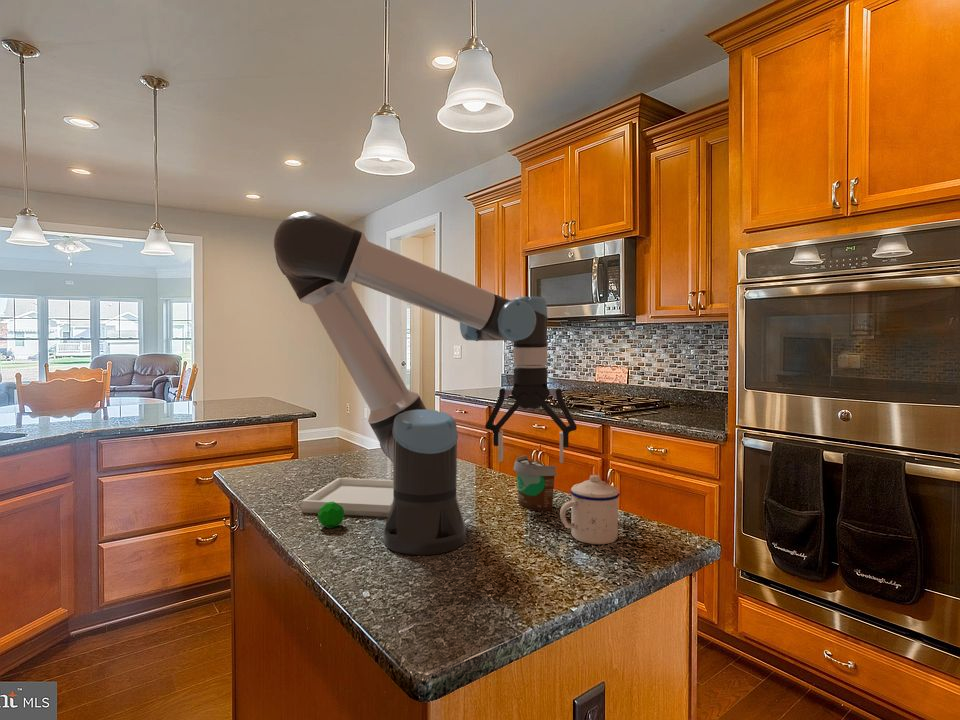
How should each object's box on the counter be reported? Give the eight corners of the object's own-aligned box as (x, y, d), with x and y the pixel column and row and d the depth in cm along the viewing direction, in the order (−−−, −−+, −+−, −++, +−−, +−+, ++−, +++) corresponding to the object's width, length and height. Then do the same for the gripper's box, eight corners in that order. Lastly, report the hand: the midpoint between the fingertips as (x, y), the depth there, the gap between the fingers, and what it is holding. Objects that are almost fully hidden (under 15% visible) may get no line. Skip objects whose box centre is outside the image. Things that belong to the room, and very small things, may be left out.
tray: (390, 517, 112) (390, 505, 112) (301, 512, 115) (301, 500, 115) (414, 491, 131) (414, 481, 131) (338, 487, 134) (338, 477, 134)
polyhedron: (341, 531, 104) (341, 506, 104) (315, 531, 104) (315, 506, 104) (346, 522, 109) (346, 499, 109) (321, 522, 109) (321, 499, 109)
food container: (503, 500, 125) (503, 457, 125) (525, 496, 128) (526, 454, 127) (532, 515, 114) (532, 468, 114) (555, 511, 117) (556, 465, 116)
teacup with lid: (599, 525, 108) (600, 468, 108) (629, 541, 100) (630, 479, 99) (547, 534, 103) (548, 473, 103) (574, 551, 95) (575, 485, 94)
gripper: (586, 365, 122) (586, 458, 123) (477, 365, 125) (478, 456, 126) (588, 367, 114) (588, 466, 115) (472, 367, 118) (473, 463, 119)
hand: (530, 461), depth 121 cm, fingers open, 13 cm apart
